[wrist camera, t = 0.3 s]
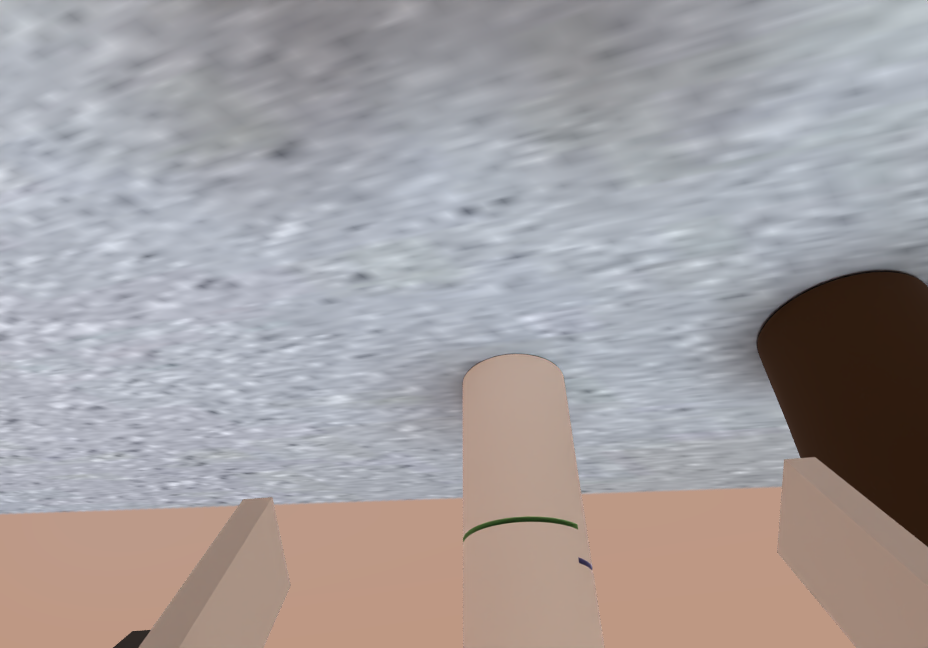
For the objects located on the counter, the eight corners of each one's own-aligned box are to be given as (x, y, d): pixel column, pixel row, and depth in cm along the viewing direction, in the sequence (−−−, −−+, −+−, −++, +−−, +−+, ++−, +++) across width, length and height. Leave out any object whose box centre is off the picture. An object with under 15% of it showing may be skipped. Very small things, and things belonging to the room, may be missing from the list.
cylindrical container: (495, 420, 41) (517, 883, 25) (442, 376, 37) (428, 907, 21) (580, 392, 38) (667, 897, 22) (534, 341, 34) (601, 928, 18)
